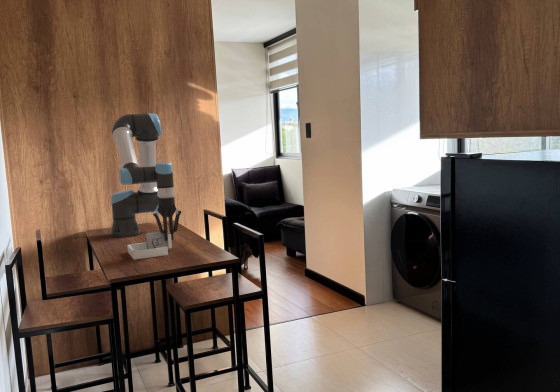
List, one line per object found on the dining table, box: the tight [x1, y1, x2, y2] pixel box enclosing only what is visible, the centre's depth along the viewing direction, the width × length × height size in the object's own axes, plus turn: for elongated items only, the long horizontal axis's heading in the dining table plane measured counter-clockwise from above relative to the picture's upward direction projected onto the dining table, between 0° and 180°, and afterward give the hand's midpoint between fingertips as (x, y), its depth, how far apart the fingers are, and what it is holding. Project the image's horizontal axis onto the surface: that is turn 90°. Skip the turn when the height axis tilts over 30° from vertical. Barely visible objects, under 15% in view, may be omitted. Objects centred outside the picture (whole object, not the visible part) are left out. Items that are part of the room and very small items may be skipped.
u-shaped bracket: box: [127, 241, 169, 260], centre depth 240 cm, size 16×15×4 cm
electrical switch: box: [144, 230, 168, 249], centre depth 243 cm, size 9×5×9 cm, turn 126°
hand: (169, 247), depth 245 cm, fingers closed
